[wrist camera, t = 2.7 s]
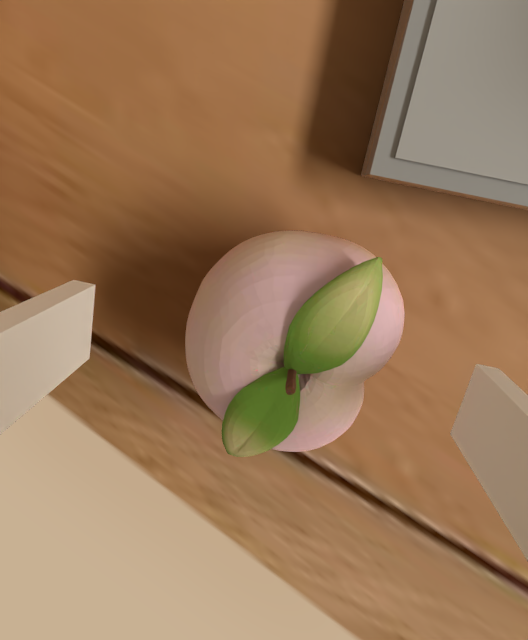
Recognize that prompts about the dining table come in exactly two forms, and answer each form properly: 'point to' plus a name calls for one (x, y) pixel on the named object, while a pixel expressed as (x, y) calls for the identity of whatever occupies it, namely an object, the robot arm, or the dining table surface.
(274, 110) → the dining table surface
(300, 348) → the decorative fruit
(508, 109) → the slate trivet
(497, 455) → the robot arm
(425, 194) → the dining table surface
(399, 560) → the dining table surface
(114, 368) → the dining table surface
